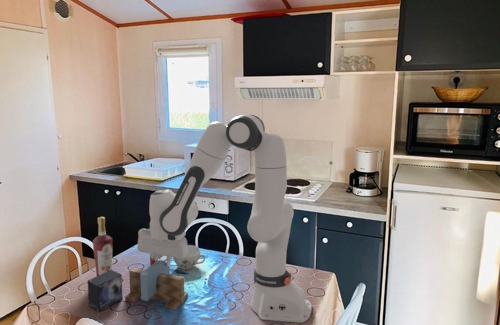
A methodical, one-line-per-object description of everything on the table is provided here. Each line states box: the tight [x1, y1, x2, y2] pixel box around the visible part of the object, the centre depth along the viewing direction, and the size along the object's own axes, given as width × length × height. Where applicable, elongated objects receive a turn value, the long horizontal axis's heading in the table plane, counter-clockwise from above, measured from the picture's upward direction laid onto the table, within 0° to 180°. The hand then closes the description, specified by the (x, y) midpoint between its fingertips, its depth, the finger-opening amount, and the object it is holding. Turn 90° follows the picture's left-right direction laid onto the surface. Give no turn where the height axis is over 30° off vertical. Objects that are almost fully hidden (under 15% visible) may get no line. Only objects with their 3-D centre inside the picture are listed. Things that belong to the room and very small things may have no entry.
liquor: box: [92, 216, 113, 277], centre depth 149 cm, size 7×7×28 cm
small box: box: [86, 269, 123, 313], centre depth 136 cm, size 11×6×10 cm, turn 148°
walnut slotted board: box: [125, 267, 189, 311], centre depth 140 cm, size 22×10×10 cm, turn 73°
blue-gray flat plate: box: [140, 256, 171, 302], centre depth 140 cm, size 16×2×10 cm, turn 163°
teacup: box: [172, 244, 206, 271], centre depth 166 cm, size 15×12×8 cm
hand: (162, 264), depth 144 cm, fingers closed on blue-gray flat plate, 2 cm apart
